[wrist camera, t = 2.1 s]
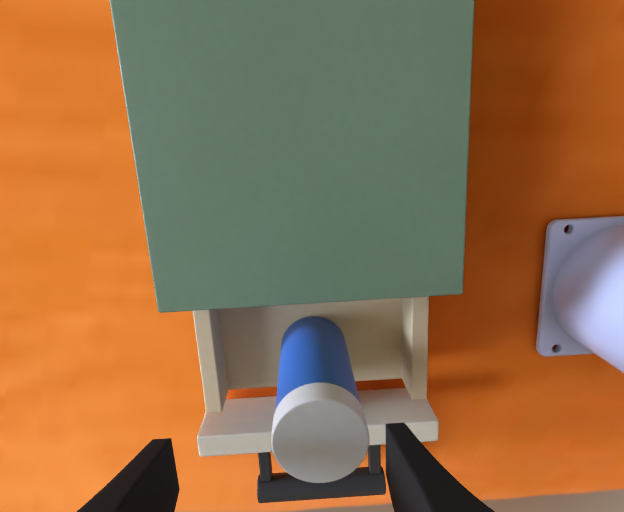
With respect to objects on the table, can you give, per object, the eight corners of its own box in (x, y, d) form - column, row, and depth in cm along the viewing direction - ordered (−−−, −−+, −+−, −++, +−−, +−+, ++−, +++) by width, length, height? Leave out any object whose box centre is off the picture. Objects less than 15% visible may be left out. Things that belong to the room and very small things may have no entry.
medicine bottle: (345, 312, 21) (369, 395, 14) (347, 373, 22) (370, 480, 15) (277, 316, 21) (267, 402, 14) (282, 377, 22) (274, 487, 15)
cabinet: (429, 264, 23) (463, 294, 18) (187, 279, 23) (157, 313, 18) (434, -31, 19) (478, -90, 15) (147, -18, 19) (97, -73, 14)
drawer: (420, 463, 25) (437, 507, 22) (219, 476, 25) (208, 523, 22) (424, 170, 21) (446, 174, 18) (181, 184, 21) (161, 190, 18)
